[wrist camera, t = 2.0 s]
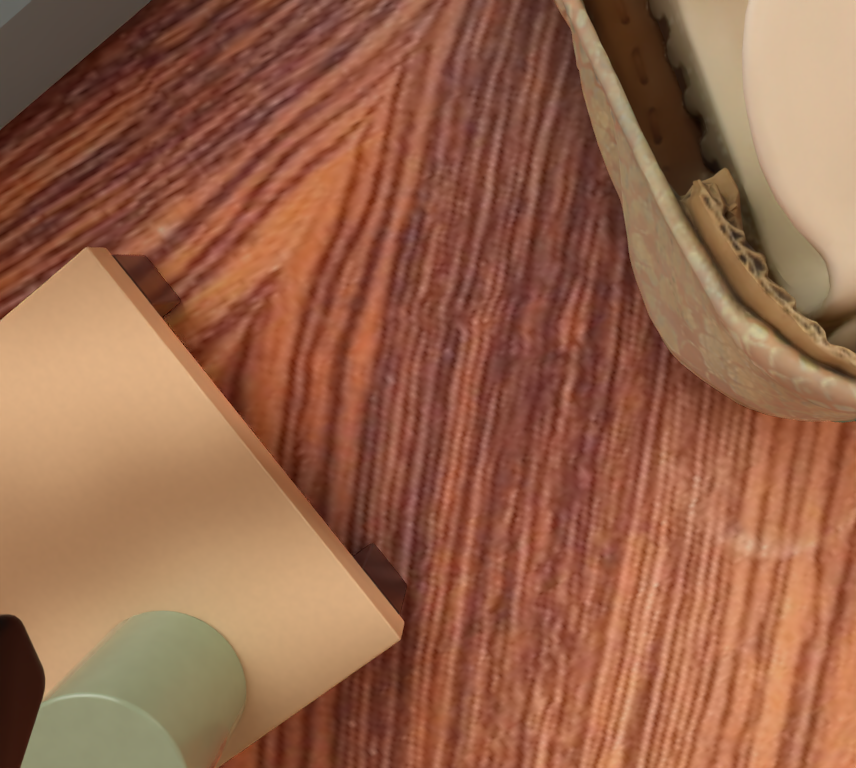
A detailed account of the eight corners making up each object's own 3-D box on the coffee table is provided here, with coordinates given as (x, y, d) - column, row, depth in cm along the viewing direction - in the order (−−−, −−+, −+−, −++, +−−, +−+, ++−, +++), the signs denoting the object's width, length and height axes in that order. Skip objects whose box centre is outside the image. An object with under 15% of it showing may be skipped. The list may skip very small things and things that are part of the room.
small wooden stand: (412, 590, 23) (401, 640, 20) (174, 759, 24) (130, 829, 21) (140, 247, 22) (85, 245, 19) (-92, 443, 23) (-177, 470, 20)
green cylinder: (279, 701, 20) (229, 808, 16) (161, 785, 21) (85, 908, 17) (178, 578, 20) (102, 656, 16) (61, 666, 20) (-41, 763, 17)
